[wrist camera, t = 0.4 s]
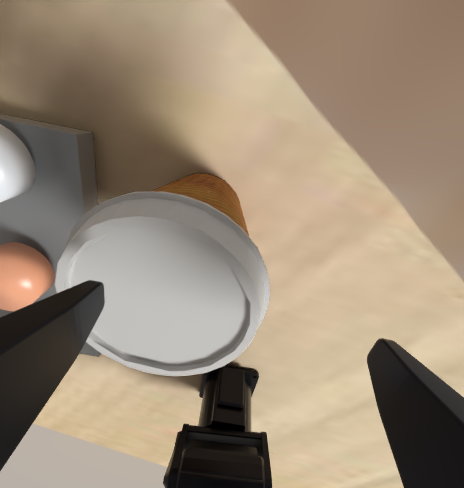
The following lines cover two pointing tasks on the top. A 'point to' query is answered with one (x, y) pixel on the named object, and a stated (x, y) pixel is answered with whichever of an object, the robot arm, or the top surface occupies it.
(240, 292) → the disposable coffee cup
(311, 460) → the top surface
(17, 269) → the button terracotta
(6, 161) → the button bluegrey
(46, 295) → the panel
